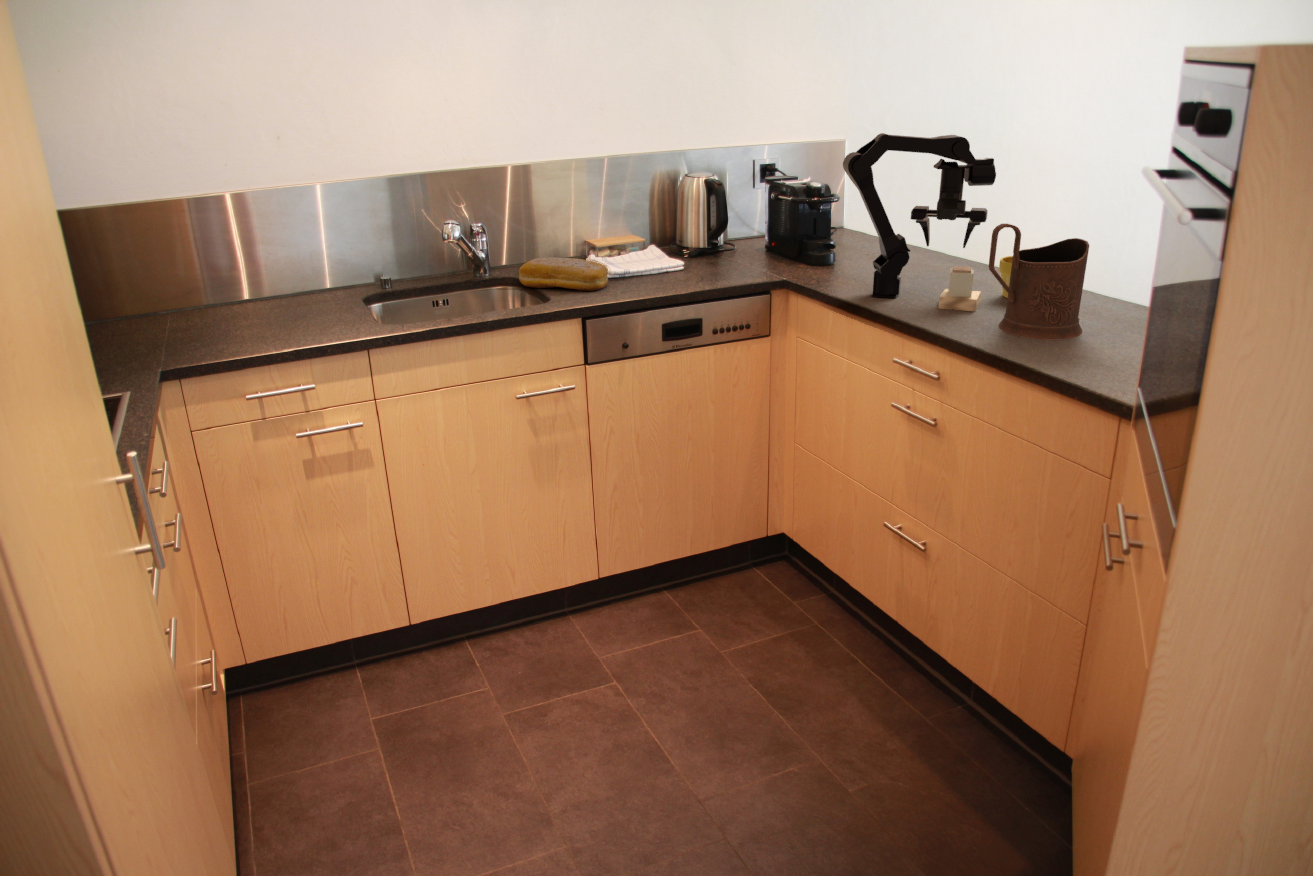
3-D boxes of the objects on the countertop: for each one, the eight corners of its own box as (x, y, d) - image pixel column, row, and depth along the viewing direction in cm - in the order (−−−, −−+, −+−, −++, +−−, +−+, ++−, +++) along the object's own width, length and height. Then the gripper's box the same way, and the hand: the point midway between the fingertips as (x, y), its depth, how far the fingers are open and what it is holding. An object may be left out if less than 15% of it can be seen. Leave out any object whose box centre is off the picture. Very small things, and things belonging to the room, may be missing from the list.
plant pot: (1040, 302, 240) (1045, 264, 236) (998, 301, 242) (1003, 263, 238) (1033, 292, 249) (1038, 255, 245) (993, 291, 251) (997, 255, 247)
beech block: (938, 310, 237) (939, 296, 236) (944, 301, 244) (945, 288, 243) (975, 313, 233) (976, 299, 232) (979, 304, 241) (981, 291, 239)
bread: (531, 279, 279) (529, 253, 276) (615, 283, 272) (613, 256, 269) (513, 290, 267) (510, 262, 264) (600, 294, 260) (598, 266, 257)
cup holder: (1100, 335, 212) (1118, 224, 202) (1004, 344, 207) (1018, 231, 197) (1051, 315, 228) (1066, 211, 219) (962, 323, 224) (973, 218, 214)
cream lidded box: (948, 296, 236) (950, 270, 233) (948, 290, 241) (950, 265, 238) (971, 297, 234) (973, 271, 232) (971, 291, 239) (973, 266, 237)
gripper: (910, 189, 236) (905, 251, 242) (987, 191, 229) (980, 254, 235) (916, 183, 246) (911, 243, 252) (990, 185, 239) (983, 246, 245)
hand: (945, 246), depth 246 cm, fingers open, 9 cm apart
